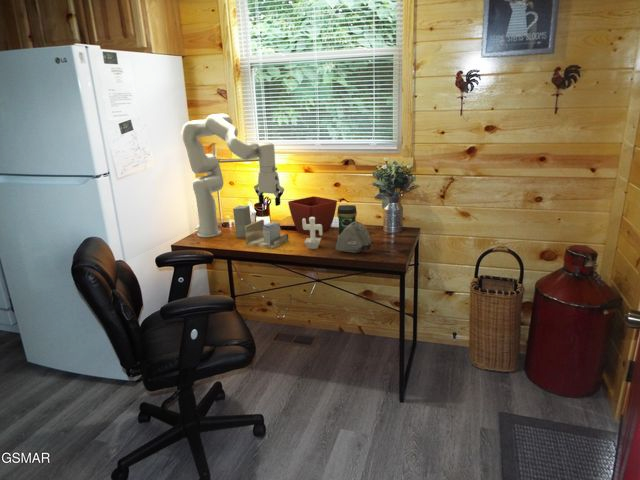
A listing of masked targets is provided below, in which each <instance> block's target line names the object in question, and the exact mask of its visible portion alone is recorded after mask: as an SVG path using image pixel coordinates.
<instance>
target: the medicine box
mask: <svg viewBox="0 0 640 480" xmlns="http://www.w3.org/2000/svg"><path fill="white" fill-rule="evenodd" d="M263 235H264V242H267V243H270V241H272V240H274V239H276V238H279V237H281V236H282V235H281V223H280V222H276V221H272V222H268V223H266V224H265V223H264V225H263Z"/></svg>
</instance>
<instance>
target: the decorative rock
mask: <svg viewBox="0 0 640 480" xmlns="http://www.w3.org/2000/svg"><path fill="white" fill-rule="evenodd" d="M371 239H372V238H371V236H370V232H369V231H368V230H367V226H365V225H364V224H363V223H362V222H360V221H357V220H356V221H355V222H352V223H351V224H350V225H349V226H347V227H346V228H345V229H344V230H343V232H342V233H341V234H340V235H339V237H338V236H337V240H336V244H335V250H337V251H339V252H346V253H351V254H357V253H361V252H362V251H369V250H370V249H371V246H372V242H371Z"/></svg>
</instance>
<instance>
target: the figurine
mask: <svg viewBox="0 0 640 480" xmlns="http://www.w3.org/2000/svg"><path fill="white" fill-rule="evenodd" d="M309 221H310V224H306V219H305V218H303V220H302V223H303V229H304V230H310V235H309V237H307V238H305V240H304V244H305V246H306V248H307V249H308V250H317V249H318V248H319V245H320V242H321V240H322V237H316V235H315V230H319V234H318V235H319V236H323V232H322V225H321V224H315V217H310V218H309Z"/></svg>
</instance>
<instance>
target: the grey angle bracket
mask: <svg viewBox="0 0 640 480" xmlns="http://www.w3.org/2000/svg"><path fill="white" fill-rule="evenodd" d="M263 225H265V220H264V219H259V220H257V221H255V222H253V223H252V222H251V224H249V225H247V226H245V234H246V238H245V244H246V245H247V246H253V247H254V246H255V247H259V248H266V249H275V248H278V247H279V246H281V245H282V244H285V243H287V242H289V234H287V233H285V234H283V235H280V236H281V237H279V238H276V239H274V240H272V241H270V243H267V242H264V235H263Z"/></svg>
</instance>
